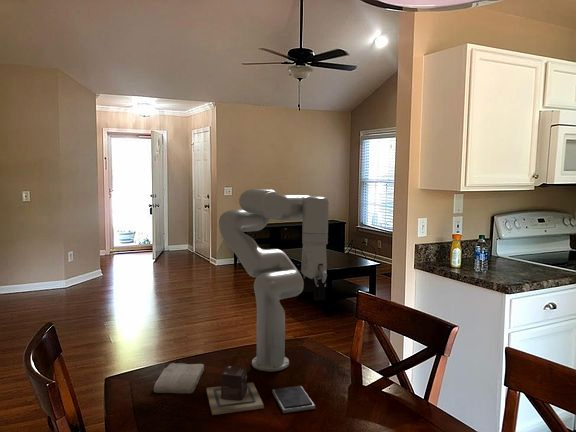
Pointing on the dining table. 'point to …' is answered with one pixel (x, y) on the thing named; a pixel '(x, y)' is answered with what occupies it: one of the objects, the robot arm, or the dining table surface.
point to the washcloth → (179, 378)
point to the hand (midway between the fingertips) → (314, 295)
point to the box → (234, 383)
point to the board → (233, 401)
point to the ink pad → (293, 399)
